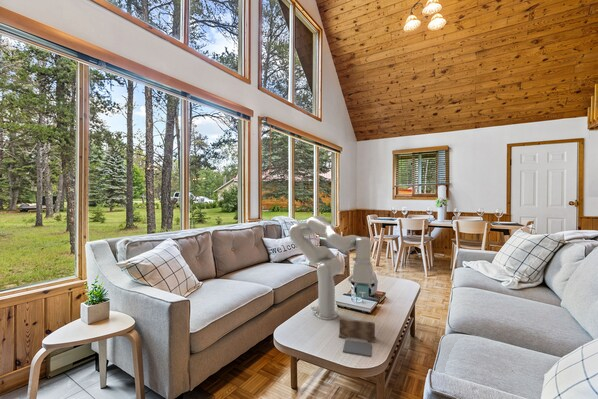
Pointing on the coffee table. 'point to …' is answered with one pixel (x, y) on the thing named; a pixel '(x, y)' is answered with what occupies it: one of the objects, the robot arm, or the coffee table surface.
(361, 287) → the letter cube
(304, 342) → the coffee table surface
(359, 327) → the screen
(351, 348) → the mat
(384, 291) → the coffee table surface
